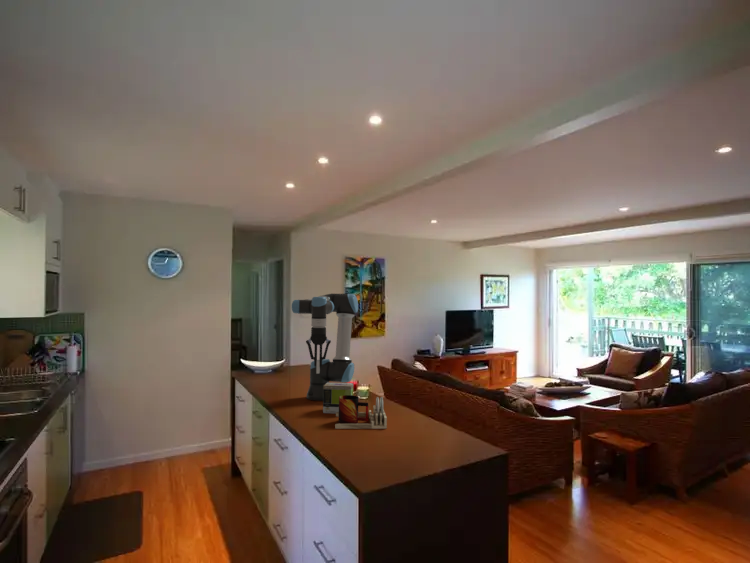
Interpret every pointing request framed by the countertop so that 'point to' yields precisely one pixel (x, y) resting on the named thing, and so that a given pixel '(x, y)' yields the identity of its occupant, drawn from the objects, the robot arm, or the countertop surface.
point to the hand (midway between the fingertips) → (317, 372)
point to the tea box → (335, 395)
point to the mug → (350, 410)
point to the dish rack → (376, 419)
